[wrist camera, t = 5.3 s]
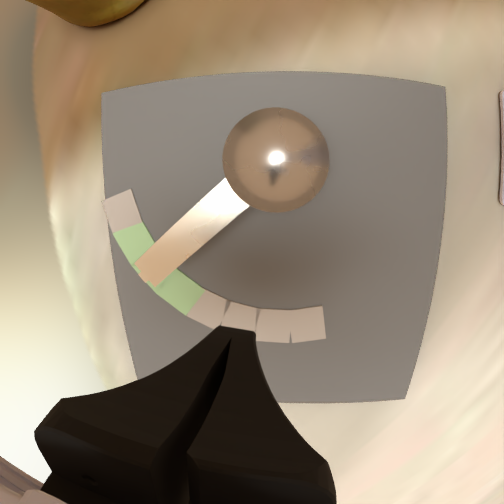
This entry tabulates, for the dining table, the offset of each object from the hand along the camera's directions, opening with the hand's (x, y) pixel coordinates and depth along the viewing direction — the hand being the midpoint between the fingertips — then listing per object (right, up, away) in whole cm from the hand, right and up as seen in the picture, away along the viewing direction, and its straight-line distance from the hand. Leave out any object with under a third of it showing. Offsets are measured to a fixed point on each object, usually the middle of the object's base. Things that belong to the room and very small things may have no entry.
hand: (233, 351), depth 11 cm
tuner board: (+2, +3, +9) cm, 10 cm away
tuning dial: (-1, +6, +7) cm, 9 cm away
